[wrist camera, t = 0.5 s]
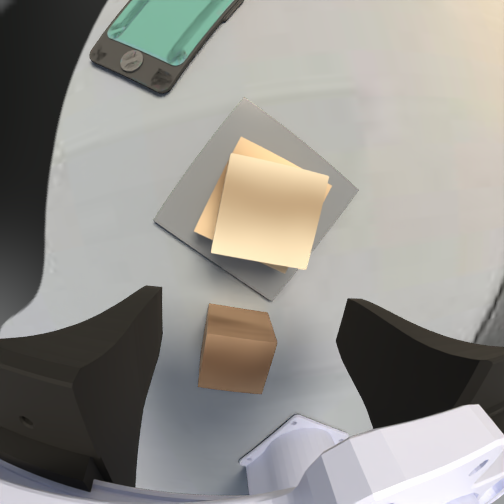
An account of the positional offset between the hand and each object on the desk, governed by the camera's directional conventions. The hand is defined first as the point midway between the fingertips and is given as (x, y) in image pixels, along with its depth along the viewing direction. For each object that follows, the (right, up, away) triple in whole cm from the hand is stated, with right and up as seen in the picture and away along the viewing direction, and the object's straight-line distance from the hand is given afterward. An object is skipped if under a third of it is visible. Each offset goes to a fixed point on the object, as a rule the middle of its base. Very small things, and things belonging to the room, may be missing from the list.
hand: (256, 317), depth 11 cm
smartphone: (-5, +21, +5) cm, 22 cm away
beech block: (+1, +5, +6) cm, 8 cm away
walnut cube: (-2, -4, +12) cm, 12 cm away
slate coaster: (0, +6, +9) cm, 11 cm away
